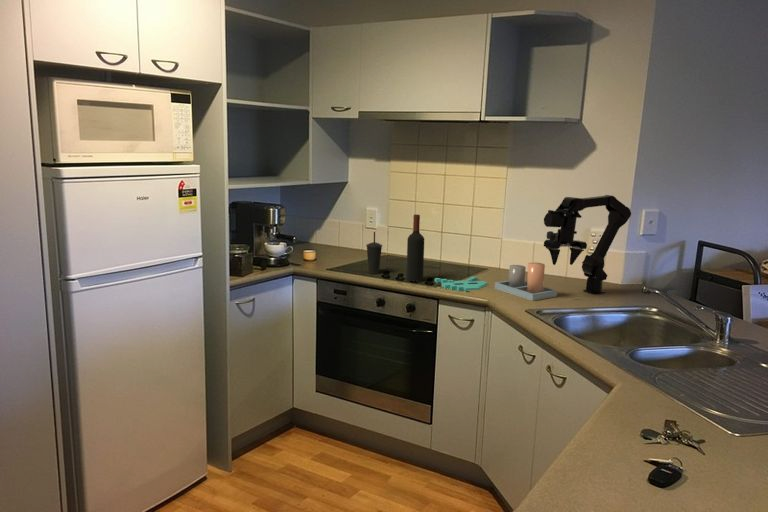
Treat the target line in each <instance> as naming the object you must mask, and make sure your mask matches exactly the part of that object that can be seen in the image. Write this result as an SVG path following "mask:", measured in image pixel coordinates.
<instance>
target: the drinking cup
mask: <svg viewBox="0 0 768 512" xmlns="http://www.w3.org/2000/svg"><path fill="white" fill-rule="evenodd" d="M382 248H383V244H381V243H379V242H376V231H373V242H369V243H367V244H366V254H367V256H366V257H367V267H368V270H367V271H368V274H369V273H370V275H378V273H379V274H380V265H381V257H382Z"/></svg>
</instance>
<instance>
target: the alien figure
mask: <svg viewBox="0 0 768 512" xmlns="http://www.w3.org/2000/svg"><path fill="white" fill-rule="evenodd" d="M434 281H435V282H436V283H435V282H434V283H435V284H439V283H438V282H441V283H440V284H441V286H442V287H444V288H445V289H444V288H443V289H444V290H450V289H451V290H450V291H457V290H458V291H457V292H464V291H465V292H466V293H470V291H477V290H478V291H479V290H481V289H483V288H484V287H486V286H488V285H489V283H488V282H486V281H485V280H479V279H478V276H471V277H468V278H466V279H465V280H453V279H447V278H440V277H435V278H434ZM441 286H440V287H441ZM442 287H441V288H442ZM447 288H448V289H447ZM449 288H450V289H449ZM465 292H464V293H465Z"/></svg>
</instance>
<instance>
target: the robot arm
mask: <svg viewBox="0 0 768 512" xmlns="http://www.w3.org/2000/svg"><path fill="white" fill-rule="evenodd" d="M603 206H604V207H605V209H606V211H607V212H608V216H607V225H606V227H605V228H604V230H603V233H602V234H601V237H600V239H599V241H598V243H597V245H596V247H595V248H594V250H593V252H592V253H591V254H590V255H589V254H586V255H585V256H584V260H583V261H582V262H581V270H582V272H583V276H584V277H587V278H586V286H585V289H582V291H583V292H586V293H589V294H593V295H598V294H603V293H605V290H603V282H604V281H606V280H607V277H608V274H607V273H606V271H604V269H605V268H604V267H605V257H606V255H607V253H608V251H609V250H610V248H611V245H612V243H613V242H614V239H615V237H616V236H617V234H618V232H619V229H620V228H622V227H623V226H624V225H625V224H626V223H627V222H628V220H629V219H630V218H631V217H632V216H631V215H632V211H631V208H630V207H628V206H626V205H625V204H624V203H623V202H621V201H620V200H618V199H617V198H616V196H614V195H610V194H605V195H598V196H591V197H590V196H589V197H573V196H565V197H564V198H563V199H562V201H561V203H560V204H559V206H557V208H556V209H555V210H551V209H548V211H547V212H546V213H545V215H544V217H543V224H544V226H545V227H547V228H558V229H557V232H554V231H547V232H546V240H544V242H543V247H545V249H546V250H548V251H549V254H550V257H551V261H552V265H553V266H555V265H556V264H557V262H558V259H559V255H560V252H561V249H560V248H562V247H565V248H566V247H568V248H569V250H570V257H569V258H570V259H569V265H571V266H572V265H573V264H574V263H575V261H576V260H577V259H578V257H579V256H580V255H581V254H582V253H583V252H584V251H585V250H587V247H588V244H587V242H586V241H583V240H579V239H578V240H577V239H576V240H575V235H577V233H578V231H577V230H576V224H577V218H578V219H581V218H583V217H582V215H581V214H580V213H579V212H581V211H583V210H585V209H587V208H594V207H603Z"/></svg>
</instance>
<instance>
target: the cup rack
mask: <svg viewBox="0 0 768 512" xmlns="http://www.w3.org/2000/svg"><path fill="white" fill-rule="evenodd" d="M508 285H509V280H504V281H496V282H494V290H498V291H501V292H504V293H508V294H511V295H514V296H517V297H520V298H523V299H525V300H528V301H539V300H544V299H550V298H557V297H558V289H554V288H550V287H547V286H543V292H540V293H534V294H532V293H529V292H527V280H525V283H524V286H523V287H517V288H513V287H510V286H508Z"/></svg>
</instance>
